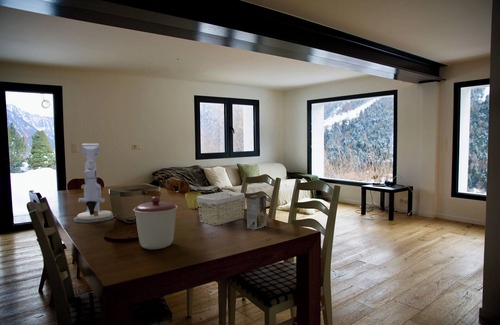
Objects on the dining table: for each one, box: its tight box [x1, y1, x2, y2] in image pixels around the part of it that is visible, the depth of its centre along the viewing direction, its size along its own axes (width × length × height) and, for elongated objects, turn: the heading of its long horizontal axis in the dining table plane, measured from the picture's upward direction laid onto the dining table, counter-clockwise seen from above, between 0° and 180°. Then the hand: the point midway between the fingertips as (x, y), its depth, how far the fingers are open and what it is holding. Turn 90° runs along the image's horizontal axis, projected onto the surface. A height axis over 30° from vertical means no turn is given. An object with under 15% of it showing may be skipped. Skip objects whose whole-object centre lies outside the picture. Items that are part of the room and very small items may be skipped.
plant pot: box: [184, 192, 202, 210], centre depth 221 cm, size 10×10×10 cm
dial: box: [76, 208, 112, 220], centre depth 192 cm, size 18×18×4 cm
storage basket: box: [197, 190, 246, 226], centre depth 185 cm, size 24×16×15 cm
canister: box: [133, 196, 179, 250], centre depth 140 cm, size 18×18×21 cm
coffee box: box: [246, 194, 267, 230], centre depth 169 cm, size 9×6×16 cm
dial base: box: [73, 213, 115, 224], centre depth 192 cm, size 22×22×2 cm
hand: (92, 214), depth 186 cm, fingers closed, pressing on dial
